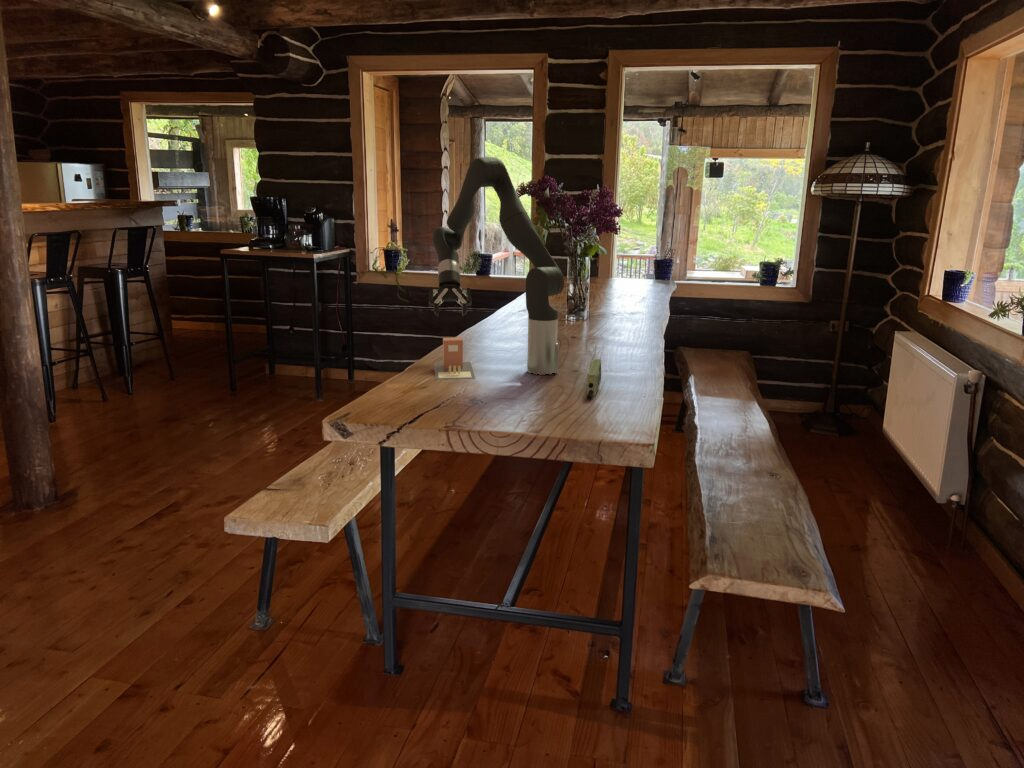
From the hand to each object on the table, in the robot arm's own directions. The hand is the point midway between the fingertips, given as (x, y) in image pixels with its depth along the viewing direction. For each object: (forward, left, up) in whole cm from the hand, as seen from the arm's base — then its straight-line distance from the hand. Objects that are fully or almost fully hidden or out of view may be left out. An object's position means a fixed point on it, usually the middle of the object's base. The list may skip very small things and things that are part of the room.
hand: (450, 315), depth 241 cm
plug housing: (0, +12, -15) cm, 19 cm away
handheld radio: (-40, +39, -16) cm, 58 cm away
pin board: (0, +17, -16) cm, 23 cm away
